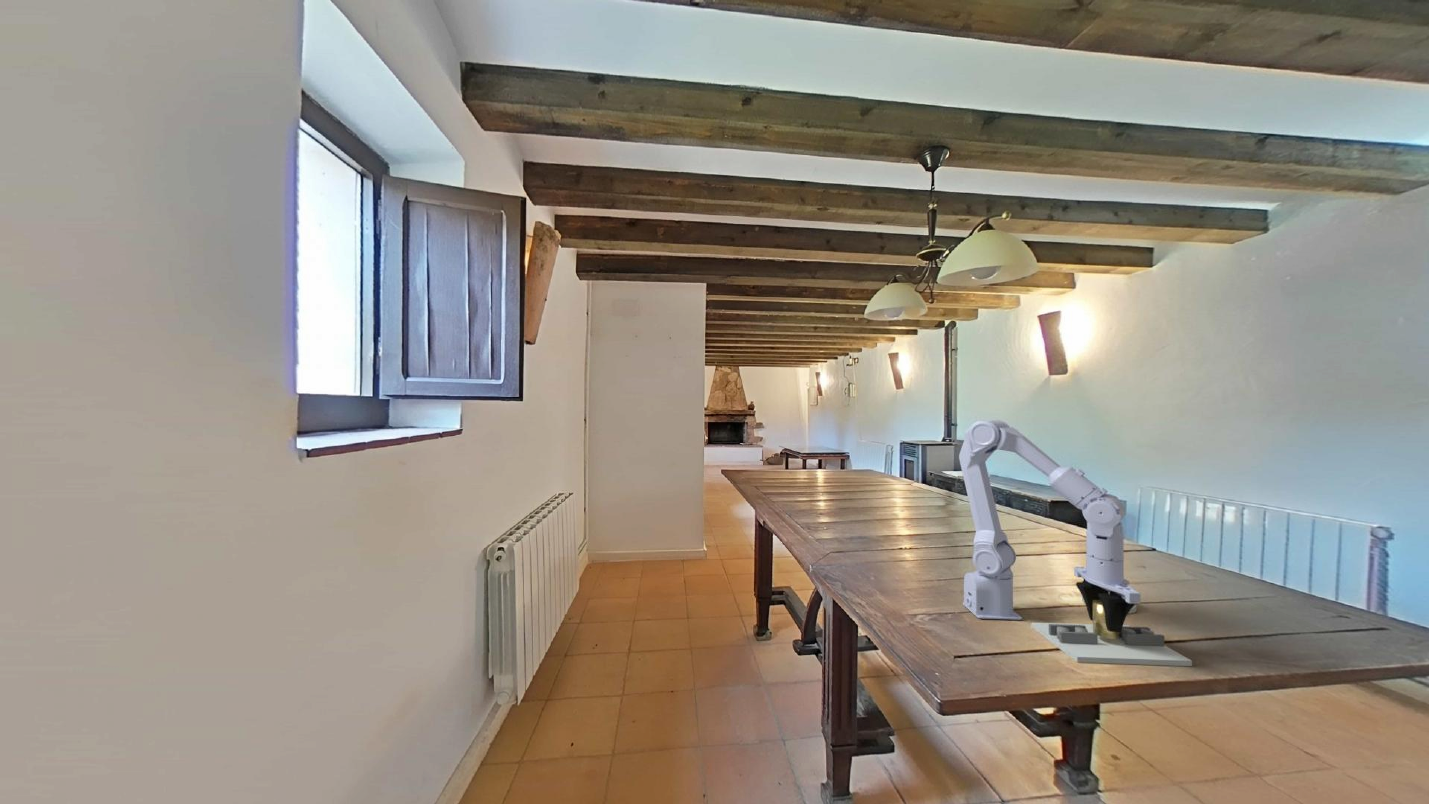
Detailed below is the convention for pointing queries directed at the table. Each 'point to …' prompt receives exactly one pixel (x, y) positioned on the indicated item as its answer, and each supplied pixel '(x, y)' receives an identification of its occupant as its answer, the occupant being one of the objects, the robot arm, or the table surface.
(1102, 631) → the pin
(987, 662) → the table surface
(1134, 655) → the chain base
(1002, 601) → the robot arm
